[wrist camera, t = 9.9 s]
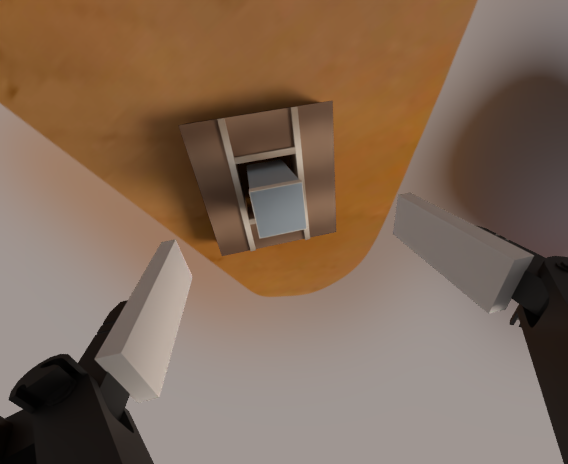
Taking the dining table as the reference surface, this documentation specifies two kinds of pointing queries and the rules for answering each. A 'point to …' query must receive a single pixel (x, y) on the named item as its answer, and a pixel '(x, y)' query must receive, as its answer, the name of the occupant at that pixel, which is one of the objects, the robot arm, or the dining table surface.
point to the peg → (276, 198)
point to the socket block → (257, 146)
